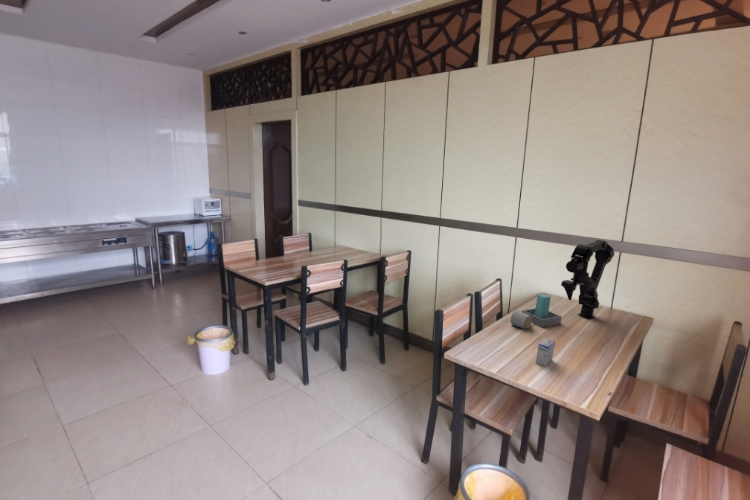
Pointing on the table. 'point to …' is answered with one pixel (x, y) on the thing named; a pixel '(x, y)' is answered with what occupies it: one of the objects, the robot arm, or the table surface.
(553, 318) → the box
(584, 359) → the table surface
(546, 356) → the medicine box
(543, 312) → the handle block
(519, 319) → the ceramic mug
